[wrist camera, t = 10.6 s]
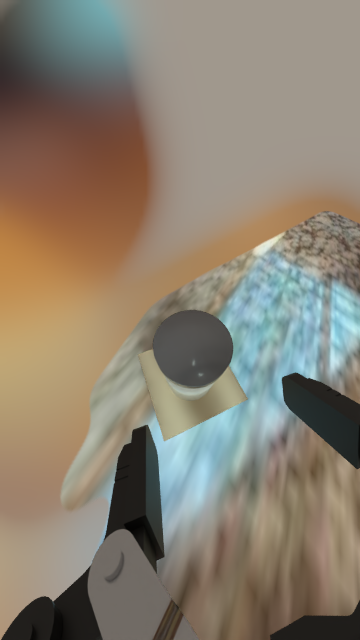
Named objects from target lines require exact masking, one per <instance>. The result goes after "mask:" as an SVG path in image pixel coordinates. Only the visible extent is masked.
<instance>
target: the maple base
mask: <svg viewBox="0 0 360 640" xmlns="http://www.w3.org/2000/svg"><path fill="white" fill-rule="evenodd" d="M138 357H139V360H140V363H141V366H142V370H143V373H144V376H145V380H146V383H147V386H148V389H149V393H150V396H151V399H152V403H153V406H154V409H155V412H156V416H157V419H158V422H159V426H160V429H161V432H162V435H163V439H164V441H166V440H168V439H170V438H172V437H174V436H176V435H178V434H180V433H182V432H184V431H186V430H188V429H190V428H192V427H194V426H196V425H198V424H200V423H202V422H204V421H206V420H208V419H210V418H212V417H214V416H216V415H218V414H220V413H222V412H224V411H226V410H228V409H230V408H231V407H233V406H235V405H237V404H239V403H241V402H243V401H245V400H247V399H248V398H247V397H246V395H245V393H244V391H243V390H242V388H241V386H240V384H239V383H238V381H237V379H236V377H235V376H234V374H233V372H232V371H231V369H230V367H229V366H228V367H227V369H226V370H225V371H224V373H223V374H222V375H221V377H220V378H219V379H218V380H216V381H215V383H214V384H213V385H212V387H211V388H210V390H209V391H208V392H207V394H206V395H205V396H203V397H202V398H200V399H198V400H195V401H186V400H183V399H180V398H178V397H177V396H176V395H175V394H174V393H173V392H172V391H171V389H170V387H169V385H168V383H167V380H166V378H165V376H164V374H163V373H162V372H161V370H160V368H159V366H158V364H157V362H156V360H155V357H154V353H153V349H151V350H148V351H146V352H143V353H140V354H138Z"/></svg>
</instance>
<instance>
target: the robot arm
mask: <svg viewBox="0 0 360 640" xmlns="http://www.w3.org/2000/svg"><path fill="white" fill-rule="evenodd" d="M282 385H283V396H284V401H285V403H286V405H287V406H288V408H289V409H290V410H291V411H292V412H293V413H294V414H296V415H297V416H298V417H299V418H300V419H301V420H302V421H303V422H305V423H306V424H307V425H308V426H309V427H310V428H311V429H312V430H314V431H315V432H316V433H317V434H318V435H319V436H320V437H321V438H323V439H324V440H325V441H326V442H327V443H328V444H329V445H330V446H332V447H333V448H334V449H335V450H336V451H337V452H338V453H339V454H341V455H342V456H343V457H344V458H345V459H346V460H347V461H348V462H350V463H351V464H352V465H353V466H354V467H355V468H356V469H359V468H360V404H358V403H356V402H355V401H353V400H351V399H349V398H348V397H346V396H344V395H341V393H339V392H337V391H335V390H332V388H330V387H329V386H327V385H325V384H323V383H322V382H319V381H316V380H313V379H310V378H308V379H307V378H305V377H304V376H302V375H300V374H298V373H292V374H290V375H287V376H284V377H283V378H282ZM116 470H117V472H116V475H115V483H114V487H113V494H112V500H111V506H110V512H109V518H108V525H107V530H106V535H105V538H104V542H103V543H102V544H101V546H100V547H99V549H98V551H97V552H96V555H95V557H94V559H93V562H92V564H91V566H90V567H89V568H88V569H87V570H86V572H85V573H84V574H83V575H82V576H81V577H80V578H79V579H78V580H76V581H75V582H74V583H73V584H72V585H71V586H70V587H69V588H68V589H67V590H65V592H63V593H62V594H61V595H60V596H59V597H58V598H57V599H56V600H55V601H52V600H51V599H50V598H49V597H46V596H44V597H40V598H37V599H35V600H34V601H32V602H31V603H30V604H29V605H27V606H26V607H25V608H24V609H23V610H22V611H21V612H20V614H19V615H18V616H17V617H16V618H15V620H14V621H13V622H12V624H11V625H10V627H9V628H8V630H7V631H6V633H5V634H4V636H3V637H2V639H1V640H199V639H198V637H197V635H196V634H195V632H194V631H193V629H192V627H191V626H190V624H189V623H188V621H187V619H186V618H185V616H184V615H183V613H182V612H181V610H180V609H179V607H178V606H177V605H176V604H175V603H174V601H173V600H172V598H171V597H170V595H169V593H168V592H167V590H166V589H165V587H164V585H163V584H162V582H161V580H160V579H159V577H158V576H157V566H156V561H157V560H159V559H161V558H163V557H164V543H163V528H162V512H161V497H160V481H159V466H158V455H157V450H156V446H155V443H154V441H153V438H152V435H151V432H150V430H149V427H148V425H145V426H142V427H139V428H137V429H134V430H133V432H132V441H131V443H129V444H126V445H124V447H123V449H122V451H121V453H120V455H119V457H118V463H117V469H116ZM270 638H271V640H360V601H359V603H358V605H357V607H356V609H355V610H354V612H353V613H352V614H351V615H350V616H303V617H302V618H300V619H298V620H296V621H295V622H293V623H291V624H289V625H288V626H286V627H284V628H282V629H281V630H279V631H277V632H275V633H274V634H272V635H270Z"/></svg>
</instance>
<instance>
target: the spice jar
mask: <svg viewBox="0 0 360 640" xmlns="http://www.w3.org/2000/svg"><path fill="white" fill-rule="evenodd" d="M153 353H154V357H155V360H156V362H157V364H158V366H159V368H160V370H161V372H162V373H163V374H164V376H165V378H166V380H167V383H168V385H169V387H170V389H171V391H172V392H173V393H174V394H175V395H176V396H177V397H178V398H180V399H183V400H186V401H195V400H198V399H200V398H202V397H203V396H205V395H206V394H207V392H208V391H209V390H210V388H211V387H212V385H213V384H214V383H215V381H216V380H218V379H219V378H220V377H221V375H222V374H223V373H224V371H225V370H226V369H227V367H228V366H229V364H230V362H231V359H232V354H233V342H232V338H231V335H230V333H229V331H228V329H227V328H226V327H225V325H224V324H223V323H222V322H221V321H220V320H219V319H217V318H216V317H214V316H213V315H211V314H209V313H206V312H203V311H197V310H186V311H181V312H178V313H175V314H173V315H171V316H170V317H168V318H167V319H166V320H165V321H163V322H162V324H161V325H160V326H159V328H158V329H157V331H156V333H155V336H154V340H153Z"/></svg>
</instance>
